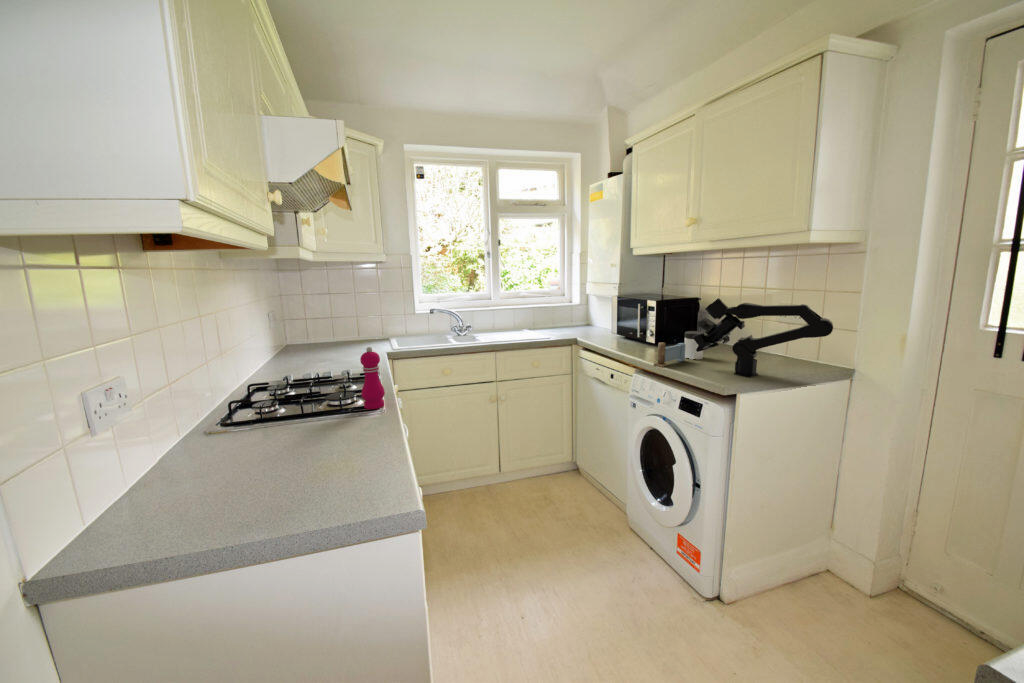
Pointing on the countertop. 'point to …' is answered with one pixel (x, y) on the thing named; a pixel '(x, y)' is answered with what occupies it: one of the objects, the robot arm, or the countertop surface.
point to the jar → (692, 346)
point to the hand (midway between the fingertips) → (697, 350)
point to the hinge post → (661, 355)
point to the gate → (675, 352)
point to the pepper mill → (372, 381)
